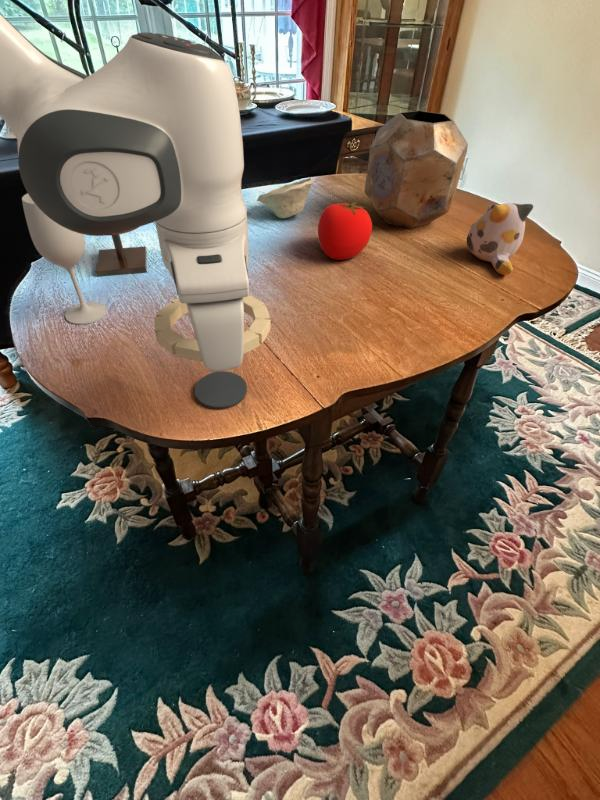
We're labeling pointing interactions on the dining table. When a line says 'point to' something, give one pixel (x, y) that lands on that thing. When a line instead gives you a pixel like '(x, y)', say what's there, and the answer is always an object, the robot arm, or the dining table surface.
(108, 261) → the rack
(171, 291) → the dining table surface
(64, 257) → the wineglass
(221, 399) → the coaster
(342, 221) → the tomato
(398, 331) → the dining table surface
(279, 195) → the bowl
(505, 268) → the figurine
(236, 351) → the robot arm
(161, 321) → the hoop
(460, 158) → the planter
